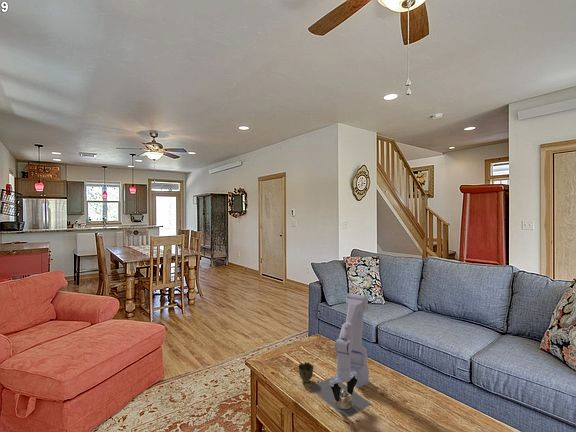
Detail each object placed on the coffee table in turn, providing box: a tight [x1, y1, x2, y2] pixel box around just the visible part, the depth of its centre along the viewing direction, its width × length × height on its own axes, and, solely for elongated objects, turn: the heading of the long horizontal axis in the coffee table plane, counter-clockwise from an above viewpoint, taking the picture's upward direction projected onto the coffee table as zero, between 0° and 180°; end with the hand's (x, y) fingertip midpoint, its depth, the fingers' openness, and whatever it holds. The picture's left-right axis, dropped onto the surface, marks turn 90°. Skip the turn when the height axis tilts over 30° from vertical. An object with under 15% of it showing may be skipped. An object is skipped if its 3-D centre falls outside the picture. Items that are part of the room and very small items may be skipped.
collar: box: [334, 389, 352, 409], centre depth 132 cm, size 5×5×4 cm
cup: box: [298, 362, 314, 384], centre depth 151 cm, size 8×7×8 cm
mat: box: [307, 376, 373, 418], centre depth 139 cm, size 16×26×1 cm, turn 32°
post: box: [335, 390, 352, 410], centre depth 132 cm, size 7×7×6 cm
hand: (343, 397), depth 132 cm, fingers open, 7 cm apart
